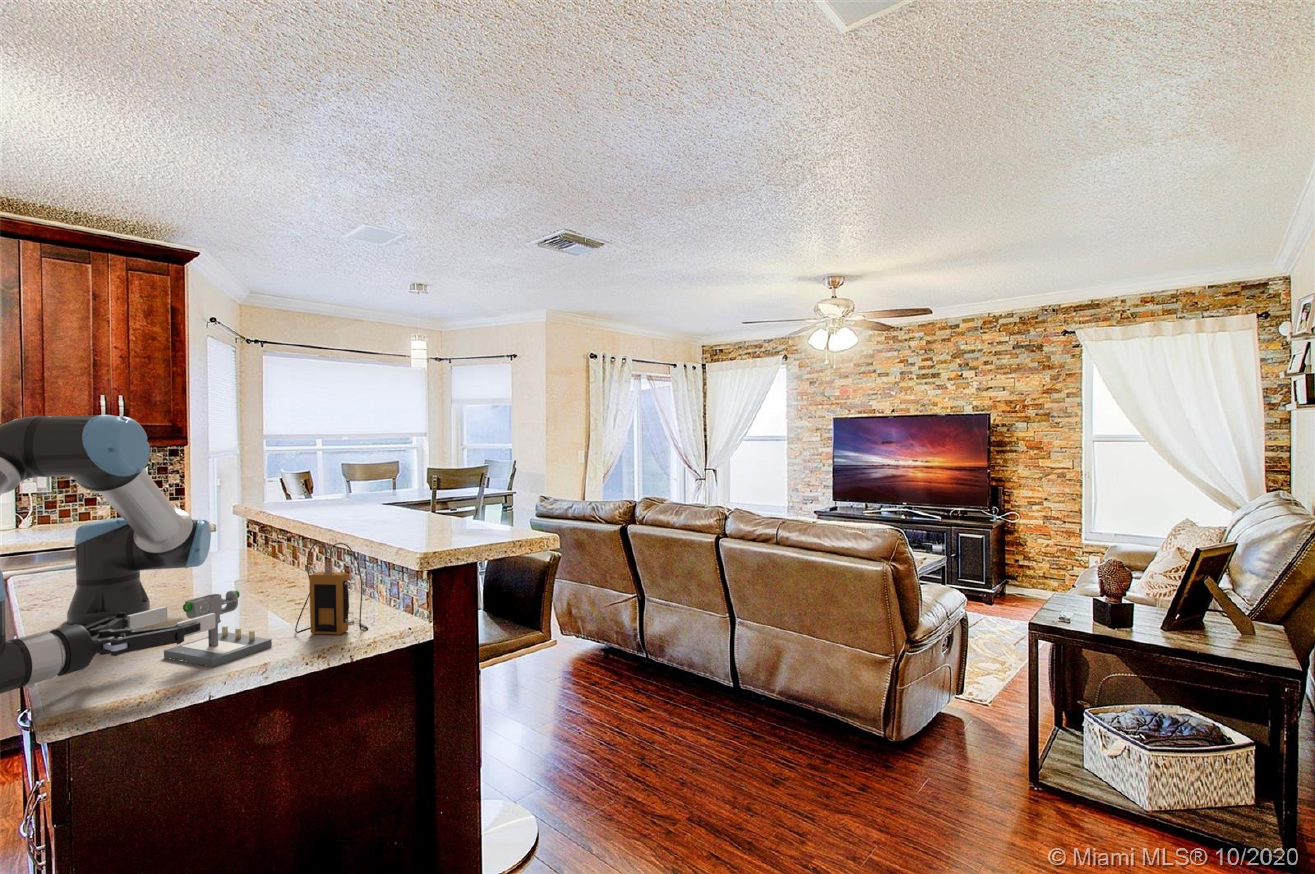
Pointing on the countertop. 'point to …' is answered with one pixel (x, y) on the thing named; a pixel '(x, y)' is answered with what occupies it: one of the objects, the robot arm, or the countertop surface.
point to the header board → (219, 648)
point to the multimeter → (329, 600)
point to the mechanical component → (211, 610)
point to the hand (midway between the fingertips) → (189, 616)
